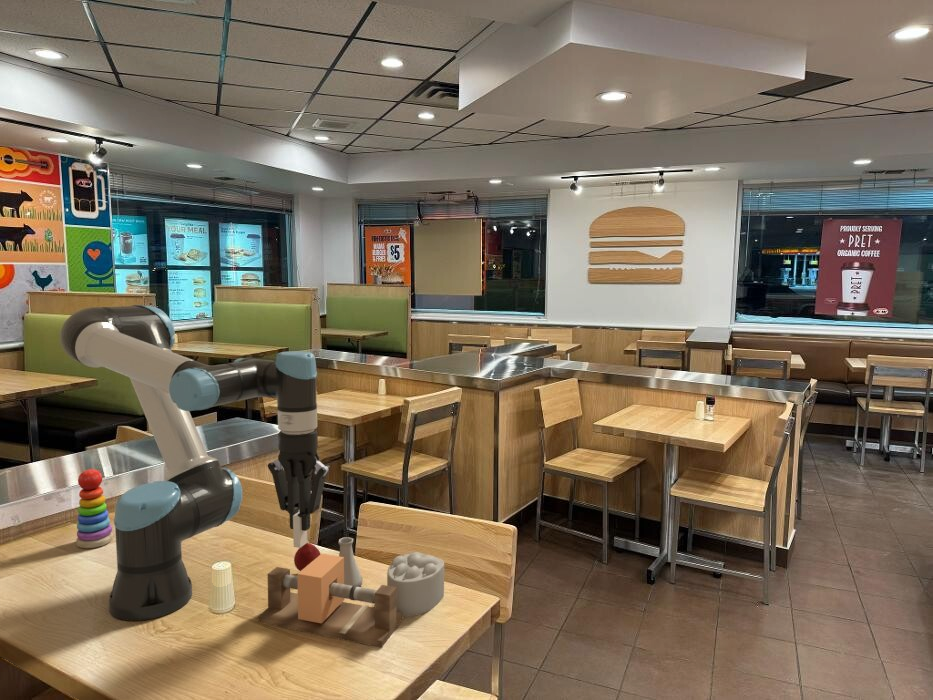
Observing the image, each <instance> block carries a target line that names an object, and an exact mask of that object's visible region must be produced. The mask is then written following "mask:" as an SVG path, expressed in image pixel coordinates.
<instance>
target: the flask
mask: <svg viewBox="0 0 933 700" xmlns="http://www.w3.org/2000/svg"><path fill="white" fill-rule="evenodd" d="M353 543H354V538H352V537H349V536H348V537H346V536H345V537H342V538H339V539H338V546H339V553H338V556H340V557H344V584H345V585H350V586H358V587H361V586H362V585H363V576H362V573H361V571H360V569H359V566H358V564H357V562H356V558H355V555H354V552H353V551H354V550H353Z"/></svg>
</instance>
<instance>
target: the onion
mask: <svg viewBox="0 0 933 700" xmlns="http://www.w3.org/2000/svg"><path fill="white" fill-rule="evenodd" d="M321 554H322V553H321V552H320V550H319V548H318V547H317V546H315V545H314V544H312V543H311V542H309V541H308V540H307V543H306V544H305V545H303V546H302V547H301V548H297V550H296V552H295V554H294V557H293V563H294V566H295V568H296V569H297V570H298V571H299V572H300V571H301V570H303V569H304V568H305V567H306V566H307V565H309V564H310V563H311V562H312V561H313V560H315V559H316V558H317V557H318V556H319V555H321Z"/></svg>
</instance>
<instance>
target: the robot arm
mask: <svg viewBox="0 0 933 700" xmlns="http://www.w3.org/2000/svg"><path fill="white" fill-rule="evenodd" d="M175 335H176V332H175V327H174V325H173V322H172V320H171V319H170V317H169V316H168V315H167V313H165V311H163V310H162V309H160V308H158V307H155V306H153V305H151V306H150V305H143V304H142V305H141V304H135V305H134V304H133V305H126V306H125V305H123V306H101V307H100V306H93V307H87V308H83V309H80V310H78V311H76V312H74V313H72V314H71V315H70V316H69V317H67V319H65V321H64V323H63V324H62V327H61V329H60V333H59V341H60V345H61V348H62V349H63V350H64V353H65V354H66V355H67V356H68V357H70V358H71V360H73V361H76V362H77V363H80V364H82V365H84V366H86V367H90V368H101V367H103V368H106V369H108V370H110V371H113V372H115V373H118V374H120V375H122V376H124V377H127V378H129V379H130V382H131V385H132V386H133V389H134V392H135V394H136V396H137V399H138V401H139V404H140V407H141V409H142V411H143V414H144V416H145V418H146V420H147V423H148V425H149V428H150V431H151V433H152V435H153V438H154V440H155V443H156V444H157V448H158V449H159V452H160V455H161V457H162V459H163V462H164V464H165V467H166V469H167V471H168V473H167V475H166V478H165V480H160V481H157V480H156V481H153V482H151V483H150V482H146V483H144V484H140V485H137V486H134V487H133V488H130V489H128V490H126V491H125V492H124V493H122V494H121V495H120V496H119V498H118V499H117V501H116V503H115V506H114V518H113V524H114V527H115V528H114V529H115V531H114V532H115V543H116V544H115V546H116V547H115V548H116V565H117V567H116V568H117V571H116V574H115V578H114V580H113V585H112V588H111V592H110V594H109V597H108V598H109V599H108V610H109V613H110V615H111V616H112V617H114V618H115V619H118V620H122V621H131V622H135V621H136V622H137V621H138V622H139V621H145V620H152V619H156V618H160V617H163V616H166V615H168V614H169V615H170V614H171V613H173V612H175V611H178V610H179V609H181V608H182V607H184V606H185V605H186V604H187V603H189V602H190V600H192V597H193V584H192V580H191V578H190V577H189V575H188V572H187V571H188V570H187V569H186V567H185V564H184V561H183V557H182V542H183V541H185V540H188V539H190V538H193V537H195V536H196V535H199V534H202V533H204V532H206V531H209V530H211V529H213V528H217V527H220V526H222V525H223V524H225V523H226V522H228V521H230V520H231V519H233V518H234V517H235V516H236V515H237V514H238V512H239V510H240V509H241V504H242V502H243V488H242V483H241V481H240V479H239V477H238V476H237V474H236V473H235V472H233V471H232V470H231V469H229V468H224V467H223V468H222V466H221V464H220V462H219V459H217V458H215V457H213V456H210V455H208V452H207V450H206V448H205V446H204V442H203V440H202V438H201V435H200V434H199V431H198V428H197V426H196V424H195V421H194V419H193V417H192V415H191V412H192V411H193V412H194V411H203V410H208V409H210V408H213V407H218V406H221V405H226V404H231V403H235V402H241V401H245V400H249V399H253V398H269V399H276V400H277V401H276V403H277V404H276V405H277V407H276V408H277V428H278V431H279V432H278V433H277V435H278V436H277V438H278V439H277V440H278V445H277V446H278V451H279V453H278V456H277V459H276V460H273V461H271V462H270V463H268V464H267V468H268V470H269V472H270V474H271V475H272V476H271V477H272V480H273V484H274V488H275V492H276V497H277V500H278V504H279V509H280V510H281V511H285V512H287V513H288V514H289V528H290V530H292V533H293V534H292V535H293V538H292V539H293V548H297V549H299V548H301V547H302V546H303V545H305V544H306V543H307V541H308V531H309V529H310V528H311V515H312V514H313V513H315V512H317V511H318V510H319V509H320V506H321V501H322V496H323V492H324V487H325V483H326V478H327V475H328V473H329V472H330V470H331V466H330V465H328V464H326V465H325V464H323V463H322V462H321V461H320V457H319V455H318V446H319V444H318V443H319V442H318V440H319V439H318V438H319V437H318V434H319V433H318V430H317V428H318V403H317V383H318V382H317V379H318V372H317V363H316V357H315V355H314V353H312V352H311V351H305V350H304V351H301V350H298V351H297V350H296V351H295V350H291V351H288V350H287V351H282V352H278V353H277V355H276V357H275V360H271V359H270V360H269V359H261V358H256V357H249V358H247V357H246V358H245V357H243V358H237V359H235V360H233V361H232V362H229V363H223V364H216V365H215V364H214V365H210V364H209V365H208V364H205V363H203V362H199V361H197V360H195V359H192V358H190V357H187V356H183V355H181V354H179V353H175V352H173V351H172V348H173V347H174V344H175V342H176V341H175V340H176V338H175ZM313 471H314V479H313V483H312V482H311V480H312V478H313V477H312V476H313Z"/></svg>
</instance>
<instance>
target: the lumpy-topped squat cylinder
mask: <svg viewBox="0 0 933 700" xmlns="http://www.w3.org/2000/svg"><path fill="white" fill-rule="evenodd" d="M387 568H388V569H387V572H386V575H387V577H386V578H387V579H386V581H387V582H386V584H387V585H386V586H392V587H397V590H396V612H401V613H403V617H412V616H418V615H421V614H425V613H427V612H430V611H431V610H433V609H434V608H436V607H437V605H439V603H441V601H442V600H443V598H444V596H445V562H444V560H443V559H442V558H439V557H436V556H434V555H431V554H425V553H421V552H419V551H414V552H410V553H405V554H403V555H402V554H401V555H397V556H395V557H394V558H393V560H392V563H391V564H389V566H388V567H387Z"/></svg>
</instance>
